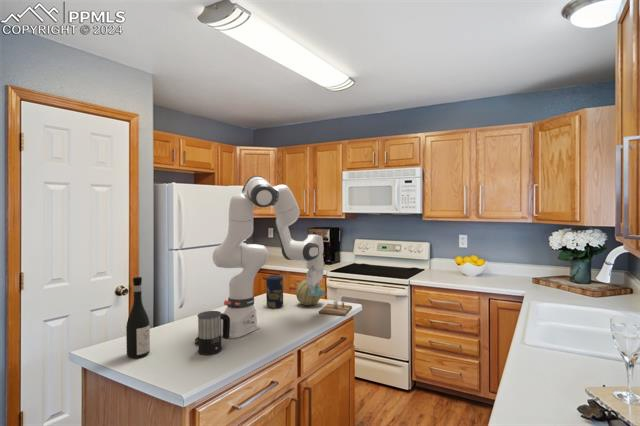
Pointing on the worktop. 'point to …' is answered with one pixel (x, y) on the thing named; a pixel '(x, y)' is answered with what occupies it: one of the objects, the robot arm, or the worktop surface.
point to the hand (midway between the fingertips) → (314, 291)
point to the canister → (274, 291)
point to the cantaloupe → (305, 294)
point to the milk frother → (211, 331)
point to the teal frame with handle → (316, 291)
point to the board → (335, 309)
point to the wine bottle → (138, 326)
